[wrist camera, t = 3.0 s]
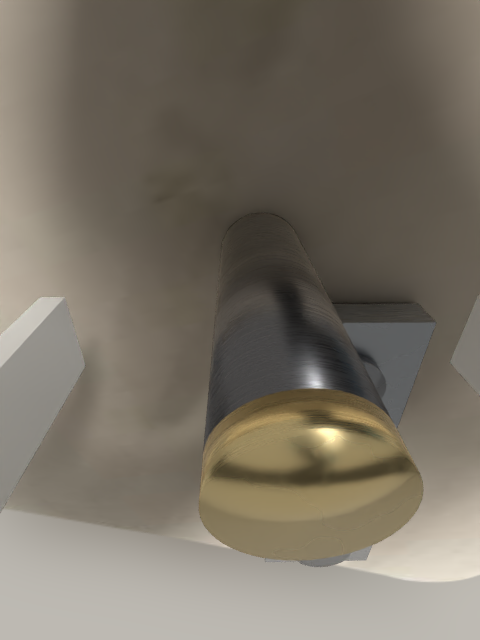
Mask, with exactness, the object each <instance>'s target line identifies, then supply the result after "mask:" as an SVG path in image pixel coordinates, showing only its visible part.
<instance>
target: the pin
mask: <svg viewBox="0 0 480 640" xmlns="http://www.w3.org/2000/svg"><path fill="white" fill-rule="evenodd" d="M422 496H423V482H422V479H421V476H420V473H419V471H418V469H417V467H416V465H415V463H414V461H413V460H412V458H411V456H410V454H409V452H408V450H407V448H406V446H405V444H404V442H403V440H402V438H401V436H400V434H399V432H398V430H397V428H396V427H395V425H394V423H393V421H392V419H391V417H390V415H389V413H388V411H387V409H386V407H385V405H384V403H383V401H382V399H381V397H380V396H379V394H378V392H377V390H376V388H375V386H374V384H373V382H372V380H371V378H370V376H369V374H368V372H367V370H366V368H365V366H364V364H363V363H362V361H361V359H360V357H359V355H358V353H357V351H356V349H355V347H354V345H353V343H352V341H351V339H350V337H349V335H348V333H347V332H346V330H345V328H344V326H343V324H342V322H341V320H340V318H339V316H338V314H337V312H336V310H335V308H334V306H333V304H332V302H331V300H330V299H329V297H328V295H327V293H326V291H325V289H324V287H323V285H322V283H321V281H320V279H319V277H318V275H317V273H316V271H315V269H314V268H313V266H312V264H311V262H310V260H309V258H308V256H307V254H306V252H305V250H304V248H303V246H302V244H301V242H300V240H299V238H298V236H297V235H296V233H295V231H294V229H293V228H292V227H291V225H290V224H289V223H288V222H286V221H285V220H284V219H282V218H280V217H278V216H276V215H273V214H269V213H255V214H250V215H247V216H245V217H243V218H241V219H239V220H238V221H236V222H235V223H234V224H233V225H232V226H231V227H230V228H229V230H228V231H227V233H226V235H225V237H224V239H223V242H222V247H221V257H220V269H219V280H218V291H217V303H216V314H215V325H214V337H213V348H212V359H211V371H210V382H209V393H208V405H207V416H206V427H205V439H204V450H203V461H202V473H201V484H200V495H199V513H200V518H201V520H202V522H203V524H204V526H205V527H206V529H207V530H208V531H209V532H210V533H211V534H212V535H213V536H214V537H215V538H216V539H218V540H219V541H220V542H222V543H223V544H225V545H227V546H229V547H231V548H233V549H235V550H238V551H240V552H243V553H246V554H250V555H253V556H258V557H262V558H268V559H275V560H294V561H300V560H315V559H324V558H330V557H336V556H340V555H344V554H348V553H352V552H355V551H358V550H361V549H364V548H366V547H369V546H371V545H373V544H376V543H378V542H380V541H382V540H384V539H385V538H387V537H389V536H391V535H392V534H393V533H395V532H396V531H398V530H399V529H400V528H401V527H403V526H404V525H405V524H406V523H407V522H408V521H409V520H410V519H411V518H412V516H413V515H414V514H415V512H416V511H417V509H418V507H419V505H420V503H421V500H422Z"/></svg>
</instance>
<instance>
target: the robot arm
mask: <svg viewBox="0 0 480 640" xmlns="http://www.w3.org/2000/svg"><path fill="white" fill-rule="evenodd" d="M450 363H451V364H452V366H453V367H454V368H455V369H456V370H457V371H458V372H459V373H460V375H461V376H462V377H463V378H464V379H465V380H466V381H467V383H468V384H469V385H470V386H471V387H472V388H473V389H474V391H475V392H476V393H477V394H478V395H479V396H480V295H478V297H477V299H476V301H475V304H474V306H473V308H472V311H471V313H470V315H469V318H468V320H467V323H466V325H465V327H464V330H463V332H462V334H461V337H460V339H459V341H458V344H457V346H456V349H455V351H454V353H453V356H452V358H451V360H450ZM85 366H86V365H85V362H84V359H83V355H82V352H81V349H80V345H79V342H78V339H77V336H76V332H75V329H74V326H73V322H72V319H71V316H70V312H69V309H68V306H67V302H66V299H65V297H40V298H39V299H38V300H37V301H36V302H34V303H33V304H32V305H31V306H30V307H29V308H28V309H27V310H26V311H25V312H24V313H23V314H22V315H21V316H20V317H19V318H18V319H17V320H16V321H15V322H14V323H12V324H11V325H10V326H9V327H8V328H7V329H6V330H5V331H4V332H3V333H2V334H1V335H0V513H1V511H2V509H3V508H4V506H5V504H6V503H7V501H8V499H9V497H10V496H11V494H12V492H13V490H14V489H15V487H16V485H17V484H18V482H19V480H20V478H21V477H22V475H23V473H24V471H25V470H26V468H27V466H28V465H29V463H30V461H31V459H32V458H33V456H34V454H35V452H36V451H37V449H38V447H39V446H40V444H41V442H42V440H43V439H44V437H45V435H46V434H47V432H48V430H49V428H50V427H51V425H52V423H53V421H54V420H55V418H56V416H57V415H58V413H59V411H60V409H61V408H62V406H63V404H64V402H65V401H66V399H67V397H68V396H69V394H70V392H71V390H72V389H73V387H74V385H75V383H76V382H77V380H78V378H79V377H80V375H81V373H82V371H83V370H84V368H85Z"/></svg>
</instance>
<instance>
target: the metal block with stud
mask: <svg viewBox="0 0 480 640" xmlns="http://www.w3.org/2000/svg"><path fill="white" fill-rule="evenodd" d="M333 306H334V308H335V310H336V312H337V314H338V316H339V318H340V320H341V322H342V324H343V326H344V328H345V330H346V332H347V333H348V335H349V337H350V339H351V341H352V343H353V345H354V347H355V349H356V351H357V353H358V355H359V357H360V359H361V361H362V363H363V364H364V366H365V368H366V370H367V372H368V374H369V376H370V378H371V380H372V382H373V384H374V386H375V388H376V390H377V392H378V394H379V396H380V397H381V399H382V401H383V403H384V405H385V407H386V409H387V411H388V413H389V415H390V417H391V419H392V421H393V423H394V425H395V427H396V428H397V427H398V424H399V422H400V419H401V416H402V414H403V411H404V408H405V406H406V403H407V400H408V397H409V395H410V392H411V389H412V387H413V384H414V381H415V379H416V376H417V373H418V371H419V368H420V365H421V363H422V360H423V357H424V354H425V352H426V349H427V346H428V344H429V341H430V338H431V336H432V333H433V330H434V328H435V325H436V322H435V321H434V320H433V318H432V317H431V316H430V315H429V314H428V313H427V312H426V311H425V310H424V309H423V308H422V307H421V306H420V305H419V304H333ZM371 547H372V545H371V546H369V547H366V548H364V549H361V550H358V551H355V552H352V553H348V554H344V555H340V556H336V557H330V558H324V559H315V560H300V561H298V562H300V563H301V564H304V565H307V566H312V567H325V566H331V565H335V564H338V563H341V562H343V561H350V560H366V559H367V557H368V554H369V552H370V550H371ZM291 561H294V560H275V559H268V558H265V562H291Z"/></svg>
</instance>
